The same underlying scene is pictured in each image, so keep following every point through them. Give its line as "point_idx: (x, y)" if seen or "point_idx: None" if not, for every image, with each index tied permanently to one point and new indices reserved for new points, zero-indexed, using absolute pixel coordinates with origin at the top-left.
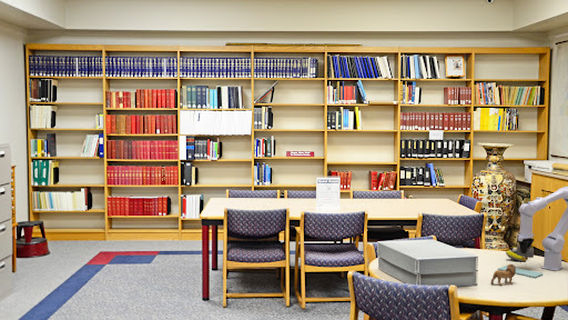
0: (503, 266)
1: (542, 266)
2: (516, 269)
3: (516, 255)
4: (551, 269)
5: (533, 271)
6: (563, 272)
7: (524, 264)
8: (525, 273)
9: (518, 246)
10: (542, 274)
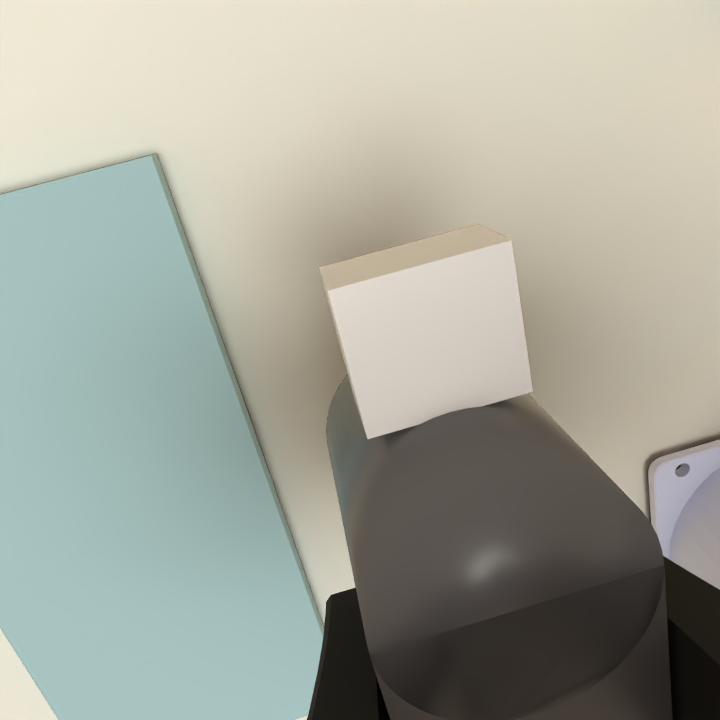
0: (31, 186)
1: (703, 458)
2: (127, 447)
3: None
4: None
5: (305, 610)
6: None
7: (652, 191)
8: (85, 647)
9: (448, 574)
10: None
